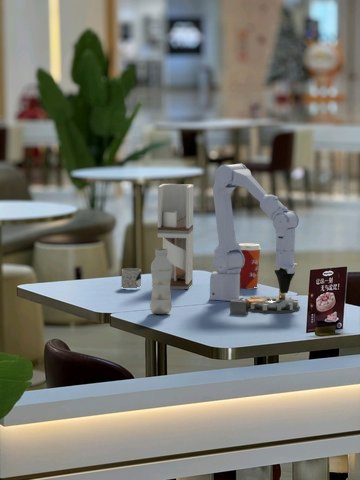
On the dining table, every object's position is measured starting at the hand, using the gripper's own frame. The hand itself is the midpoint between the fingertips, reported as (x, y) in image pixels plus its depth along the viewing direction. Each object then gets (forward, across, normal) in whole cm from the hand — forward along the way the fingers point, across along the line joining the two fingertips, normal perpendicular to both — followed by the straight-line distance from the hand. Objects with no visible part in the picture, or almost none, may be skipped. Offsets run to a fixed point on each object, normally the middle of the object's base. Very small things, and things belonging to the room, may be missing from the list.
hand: (284, 292), depth 388 cm
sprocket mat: (+5, 0, +4) cm, 6 cm away
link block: (+5, -7, +16) cm, 18 cm away
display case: (+5, +42, +27) cm, 50 cm away
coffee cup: (+5, +37, +2) cm, 38 cm away
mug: (+5, +42, +42) cm, 60 cm away
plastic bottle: (+5, -5, +40) cm, 41 cm away
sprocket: (+5, 0, +4) cm, 6 cm away
